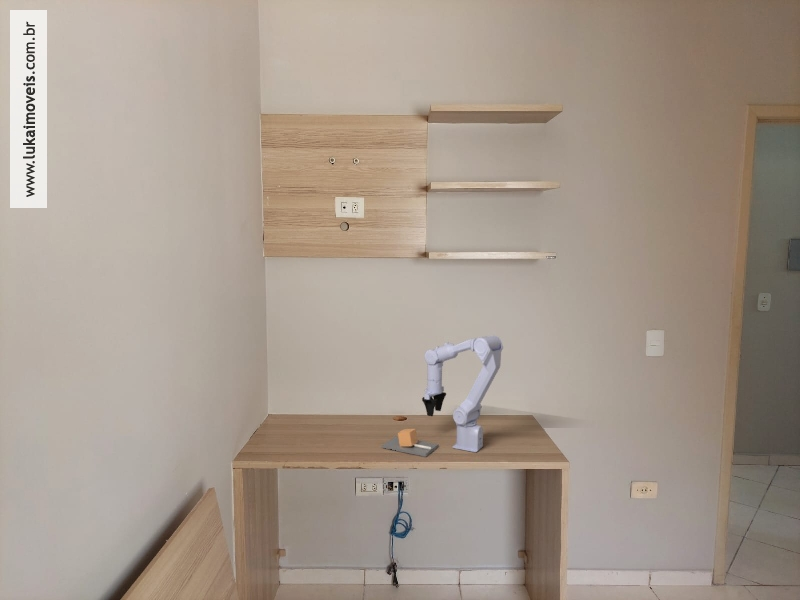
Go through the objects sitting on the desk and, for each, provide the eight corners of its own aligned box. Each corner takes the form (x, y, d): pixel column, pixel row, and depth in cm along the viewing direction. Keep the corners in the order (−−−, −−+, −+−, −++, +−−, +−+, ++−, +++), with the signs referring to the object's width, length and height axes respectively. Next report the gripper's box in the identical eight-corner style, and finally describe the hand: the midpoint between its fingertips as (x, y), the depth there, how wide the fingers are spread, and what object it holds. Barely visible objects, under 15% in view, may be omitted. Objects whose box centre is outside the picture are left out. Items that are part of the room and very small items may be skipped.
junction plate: (438, 446, 193) (438, 436, 193) (425, 456, 183) (426, 445, 183) (395, 438, 201) (395, 428, 201) (381, 447, 192) (381, 437, 191)
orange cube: (417, 441, 192) (415, 428, 193) (411, 446, 188) (409, 432, 188) (406, 442, 195) (403, 429, 195) (399, 446, 190) (397, 433, 190)
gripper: (432, 374, 211) (432, 407, 212) (417, 382, 198) (417, 416, 199) (448, 376, 207) (448, 409, 208) (434, 384, 195) (433, 419, 196)
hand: (434, 413), depth 203 cm, fingers open, 7 cm apart
